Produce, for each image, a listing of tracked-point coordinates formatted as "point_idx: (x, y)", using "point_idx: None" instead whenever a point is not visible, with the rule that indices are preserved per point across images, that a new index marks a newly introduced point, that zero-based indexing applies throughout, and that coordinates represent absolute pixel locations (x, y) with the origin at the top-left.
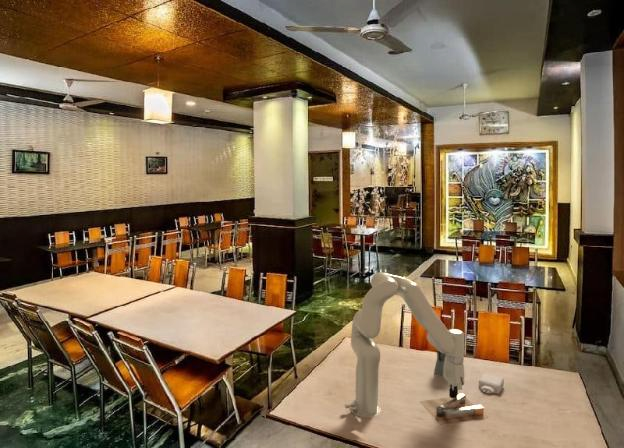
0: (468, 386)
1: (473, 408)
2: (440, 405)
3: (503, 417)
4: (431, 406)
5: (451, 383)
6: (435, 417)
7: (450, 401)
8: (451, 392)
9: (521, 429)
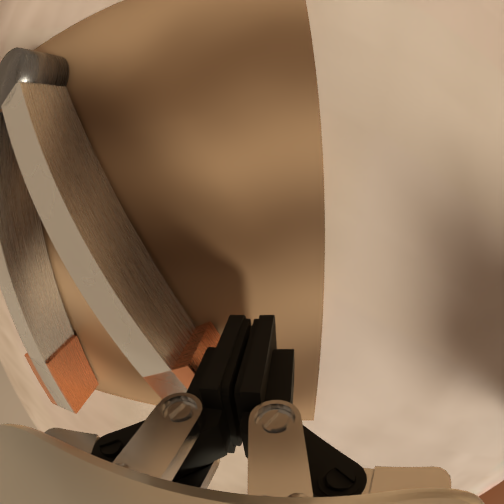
0: (407, 458)
1: (26, 349)
2: (178, 136)
3: (106, 427)
4: (178, 36)
5: (43, 462)
6: (44, 48)
7: (71, 235)
8: (211, 360)
9: (52, 410)
